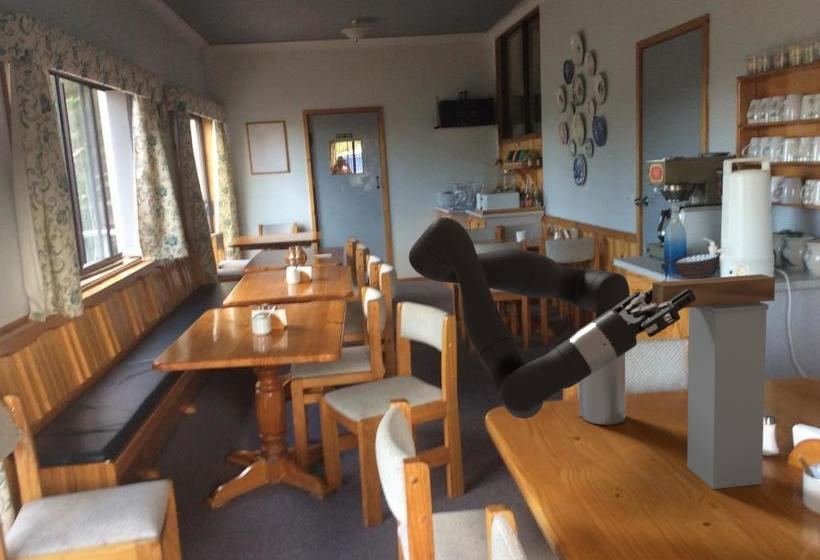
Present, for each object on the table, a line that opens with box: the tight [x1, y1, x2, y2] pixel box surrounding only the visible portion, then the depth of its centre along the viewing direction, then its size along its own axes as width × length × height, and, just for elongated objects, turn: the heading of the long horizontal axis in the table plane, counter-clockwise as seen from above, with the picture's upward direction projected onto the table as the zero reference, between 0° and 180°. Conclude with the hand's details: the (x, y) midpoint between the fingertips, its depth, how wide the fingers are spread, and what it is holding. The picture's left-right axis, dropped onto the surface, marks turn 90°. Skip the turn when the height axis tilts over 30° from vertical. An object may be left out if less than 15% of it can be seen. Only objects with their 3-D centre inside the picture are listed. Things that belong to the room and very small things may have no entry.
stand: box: [686, 302, 769, 490], centre depth 127 cm, size 9×9×32 cm
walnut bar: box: [651, 273, 776, 310], centre depth 123 cm, size 4×20×4 cm, turn 96°
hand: (680, 288), depth 123 cm, fingers open, 8 cm apart
